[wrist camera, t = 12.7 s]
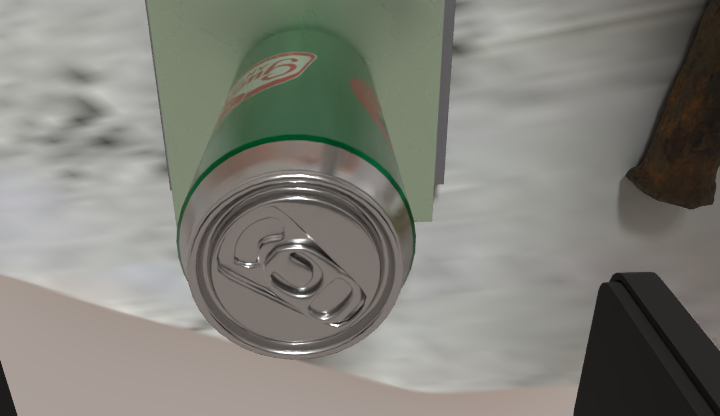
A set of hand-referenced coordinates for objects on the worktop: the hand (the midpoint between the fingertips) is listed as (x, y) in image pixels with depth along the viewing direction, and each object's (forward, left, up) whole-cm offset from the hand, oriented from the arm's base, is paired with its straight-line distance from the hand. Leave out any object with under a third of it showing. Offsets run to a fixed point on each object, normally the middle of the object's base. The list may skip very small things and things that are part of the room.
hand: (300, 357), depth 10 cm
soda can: (0, 0, -15) cm, 15 cm away
